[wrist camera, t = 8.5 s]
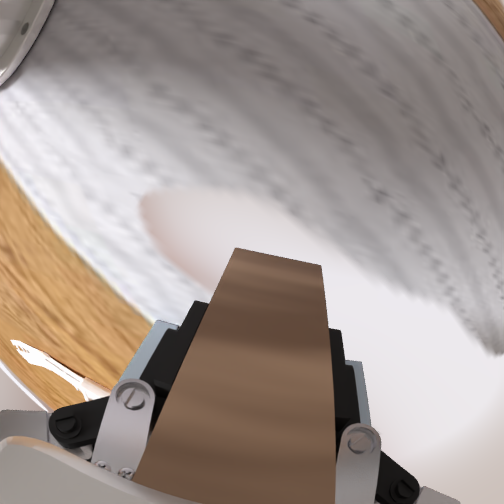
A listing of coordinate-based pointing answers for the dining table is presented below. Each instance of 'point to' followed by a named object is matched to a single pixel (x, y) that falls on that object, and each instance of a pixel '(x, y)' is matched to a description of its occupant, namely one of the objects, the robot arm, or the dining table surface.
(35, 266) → the dining table surface
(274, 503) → the brown block on rod
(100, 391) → the knife
